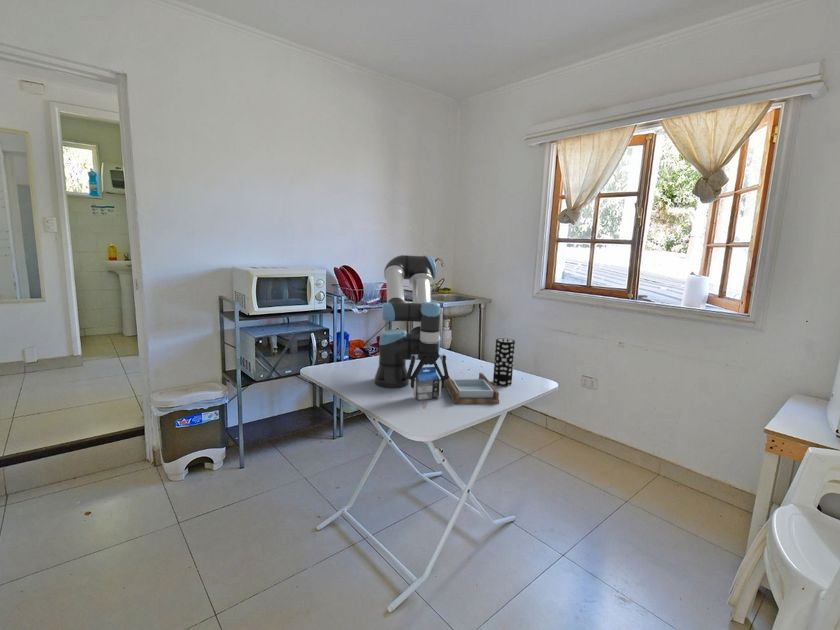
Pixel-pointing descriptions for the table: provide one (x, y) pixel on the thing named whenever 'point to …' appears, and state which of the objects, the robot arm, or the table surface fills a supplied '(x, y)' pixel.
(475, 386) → the shallow square tray
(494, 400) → the bay
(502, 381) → the spotted tube
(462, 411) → the table surface
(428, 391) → the label tape cartridge
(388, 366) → the robot arm
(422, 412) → the table surface
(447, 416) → the table surface
